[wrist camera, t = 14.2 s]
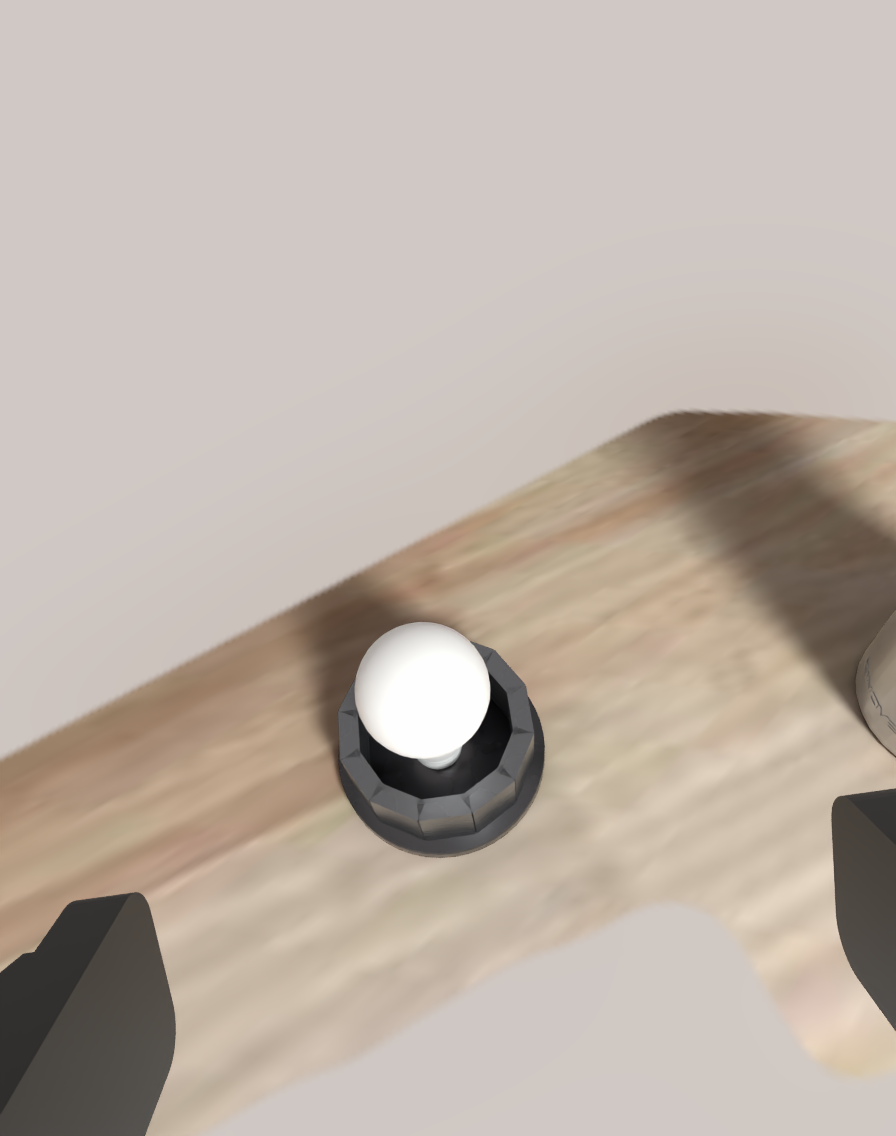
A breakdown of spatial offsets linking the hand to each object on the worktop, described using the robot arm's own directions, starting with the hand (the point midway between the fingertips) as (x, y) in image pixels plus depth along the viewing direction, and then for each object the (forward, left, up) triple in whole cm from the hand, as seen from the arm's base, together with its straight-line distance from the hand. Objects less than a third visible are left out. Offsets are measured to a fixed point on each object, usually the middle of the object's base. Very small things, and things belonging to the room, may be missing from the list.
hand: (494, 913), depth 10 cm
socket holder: (+2, -15, -34) cm, 37 cm away
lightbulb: (+2, -14, -33) cm, 36 cm away
